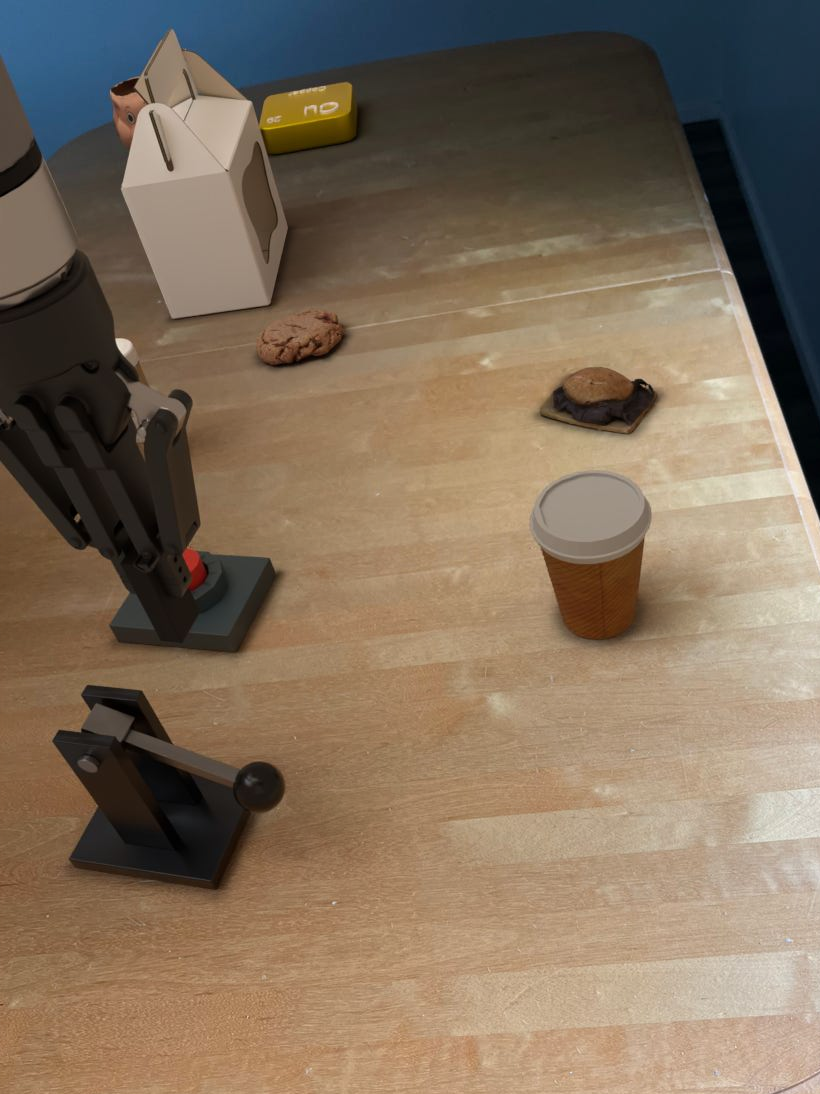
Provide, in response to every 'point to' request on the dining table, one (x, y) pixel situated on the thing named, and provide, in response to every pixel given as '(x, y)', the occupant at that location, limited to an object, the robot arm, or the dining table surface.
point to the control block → (208, 605)
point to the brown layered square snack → (600, 400)
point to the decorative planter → (126, 109)
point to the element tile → (309, 118)
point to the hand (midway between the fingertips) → (180, 625)
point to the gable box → (202, 188)
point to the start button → (195, 568)
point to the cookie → (299, 336)
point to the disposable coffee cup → (593, 548)
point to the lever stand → (148, 804)
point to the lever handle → (194, 761)
